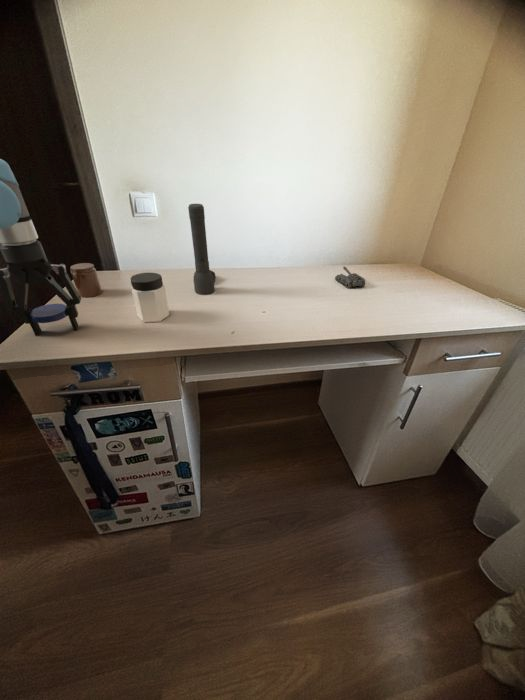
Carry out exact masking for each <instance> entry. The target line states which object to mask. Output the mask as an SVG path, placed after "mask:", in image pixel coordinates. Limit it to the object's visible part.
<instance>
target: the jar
mask: <svg viewBox="0 0 525 700" xmlns="http://www.w3.org/2000/svg"><path fill="white" fill-rule="evenodd" d="M130 284H131V292H132V297H133V302H134V306H135V310H136V314H137V318H139V319H140V320H141V322H143V323H158V322H159V323H160V322H162V321H163V320H164V319H166V318H168V317H169V316H170V310H169V305H168V298H167V293H166V292H167V291H166V286H165V285H164V282H163V277H162V275H161V274H160V273H157V272H140V273H137V274H134V275H132V276H131V277H130Z"/></svg>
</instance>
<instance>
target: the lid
mask: <svg viewBox="0 0 525 700" xmlns="http://www.w3.org/2000/svg"><path fill="white" fill-rule="evenodd" d="M65 308H66V304H65V303H50V304H45V305H41V306H38V307H35V308H34V309H32V311H31V312H30V317H31V319H32V320H33V321H34V322H36V323H38V324H48V323H55V322H58V321H61V320H63V319H66V318H67V317H68V314H67V312H66V309H65Z"/></svg>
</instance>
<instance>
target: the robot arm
mask: <svg viewBox="0 0 525 700" xmlns="http://www.w3.org/2000/svg"><path fill="white" fill-rule="evenodd" d="M30 215H31V214H30V213H29V210H28V208H27V205H26V203H25V200H24V197H23V194H22V191H21V189H20V185H19V183H18V181H17V179H16V176H15V174H14V172H13V171H12V169H11V167H10V165H9V163H8V162H7V161H5V160H4V159H2V158H0V252H1V254H2V256H3V258H4V260H5V262H6V264H7V266H6V267H4V268H1V267H0V289H1V292H2V296H3V300H4V303H5V306H6V310H7V311H8V312H10V313H11V312H16V313H19V315H20V317H21V318H22V321H23V323H24V324H26V325H28V324H29V325H30V327H31V329H32V332H33V333H34V335H35V336H36V337H38V336H40V334H41V332H43V331H42V329H41V328H42V327H41V326H40V323H36V322H34V321H33V320H32V319H31V317H30V312H31V311H32V310H33V309H32V308H28V296H29V285H31V284H44V285H45V286H46V287H48V288H49V289H50V290H51V291H52V292H53V293H54V294H55V295H56V296H57V297H58V298H59V299H60V300H61V301H62V302H63V304H64V305H66V308H65V309H66V312H67V314H68V316H67V317H68V320H69V323H70V325H71V327H72V330H73V331H78V329H79V323H78V321H77V319H76V318H78V316H79V312H78V311H79V310H78V309H77V306H76V305H79V304H80V303H81V302H82V297H80V295H79V293H78V292H77V289H76V286H75V284H74V283H73V280H71V278H70V275H69V274H68V273H67V271H68V270H67V265H66V264H65V263H60V264H54V263H51V262H50V261H49V260H48V258H47V255H46V253H45V250H44V247H43V245H42V242H41V241H39V240H38V239H39V235H38V233H37V229H36V228H35V225H34V222H33V219H32V218H31V216H30ZM52 271H54V272H55V274H57V275H58V276H59V278H60V280H61V282H62V283H63V285H64V287H65V289H66V290H67V292H68V293H69V294H68V293H67V292H66V291H65V289H63V287H61V285H60V284H59V283H58V282H57V281H56V279H55V278H54V277H53V276H52V275H51V272H52ZM11 275H12V276H13V277H15V278H17V279H18V296H17V297H18V299H17V302H16V298H15V294H14V290H13V286H12V283H11V280H10V277H11Z"/></svg>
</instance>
